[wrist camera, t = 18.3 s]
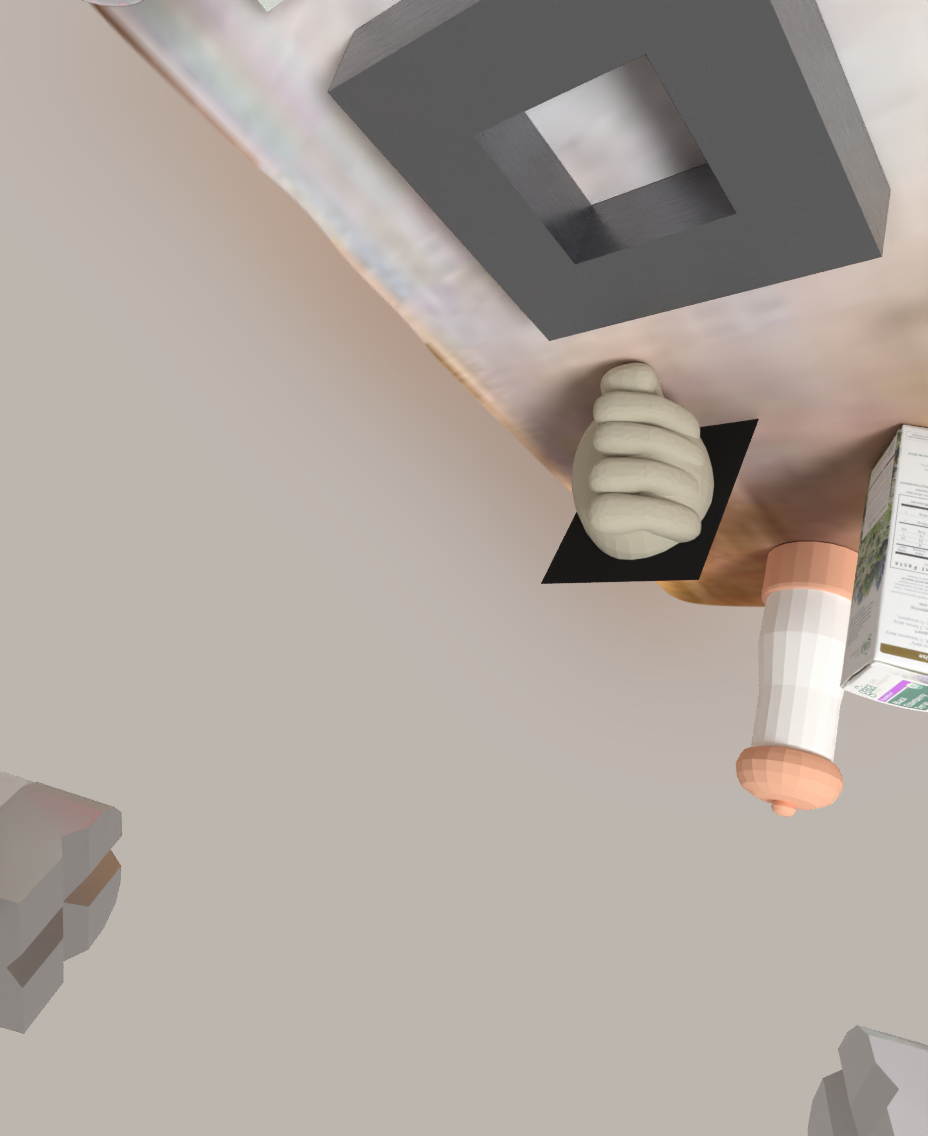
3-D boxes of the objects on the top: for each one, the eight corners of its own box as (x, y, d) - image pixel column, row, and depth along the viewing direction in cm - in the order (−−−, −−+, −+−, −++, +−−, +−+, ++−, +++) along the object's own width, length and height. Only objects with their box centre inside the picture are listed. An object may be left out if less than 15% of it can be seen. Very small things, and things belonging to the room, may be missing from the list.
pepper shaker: (824, 532, 63) (788, 801, 56) (891, 572, 66) (864, 833, 59) (746, 553, 69) (705, 797, 62) (810, 589, 72) (777, 827, 65)
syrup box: (967, 488, 53) (950, 719, 48) (864, 470, 55) (837, 694, 49) (1012, 439, 48) (998, 692, 43) (897, 419, 49) (870, 665, 44)
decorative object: (563, 349, 55) (715, 314, 49) (629, 470, 61) (773, 454, 54) (479, 492, 48) (642, 474, 42) (561, 614, 54) (717, 614, 48)
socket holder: (355, 30, 36) (327, 92, 35) (730, -214, 25) (710, -138, 24) (564, 286, 47) (549, 340, 45) (890, 189, 36) (882, 256, 35)
